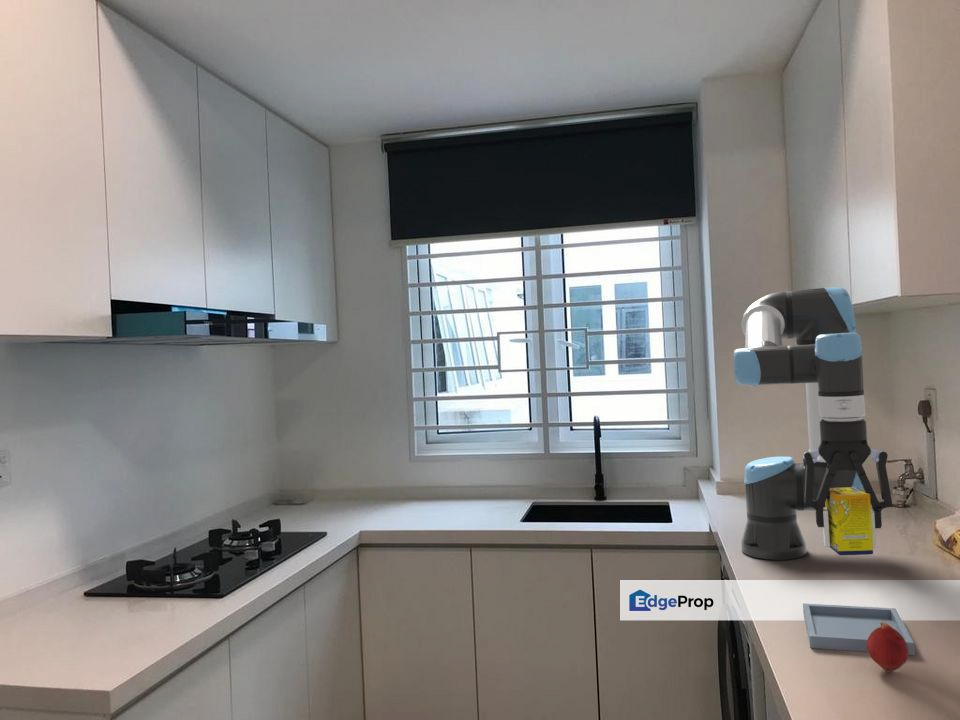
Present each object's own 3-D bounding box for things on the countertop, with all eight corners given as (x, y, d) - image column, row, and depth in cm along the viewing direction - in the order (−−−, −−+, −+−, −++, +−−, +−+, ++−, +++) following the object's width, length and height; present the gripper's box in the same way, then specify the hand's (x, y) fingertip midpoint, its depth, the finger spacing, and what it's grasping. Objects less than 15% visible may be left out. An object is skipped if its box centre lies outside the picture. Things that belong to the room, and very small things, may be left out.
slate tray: (803, 614, 143) (802, 603, 143) (896, 619, 138) (895, 608, 138) (810, 647, 128) (809, 635, 128) (914, 655, 123) (914, 642, 123)
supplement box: (826, 546, 136) (823, 487, 136) (860, 545, 136) (857, 486, 135) (838, 556, 130) (835, 494, 130) (874, 554, 130) (870, 493, 129)
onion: (895, 662, 121) (893, 613, 121) (917, 677, 115) (914, 627, 115) (861, 664, 121) (858, 616, 121) (881, 680, 115) (878, 630, 115)
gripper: (784, 422, 132) (791, 549, 133) (908, 419, 126) (916, 553, 126) (782, 417, 139) (789, 538, 140) (900, 414, 133) (907, 541, 133)
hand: (849, 545), depth 133 cm, fingers closed on supplement box, 7 cm apart
